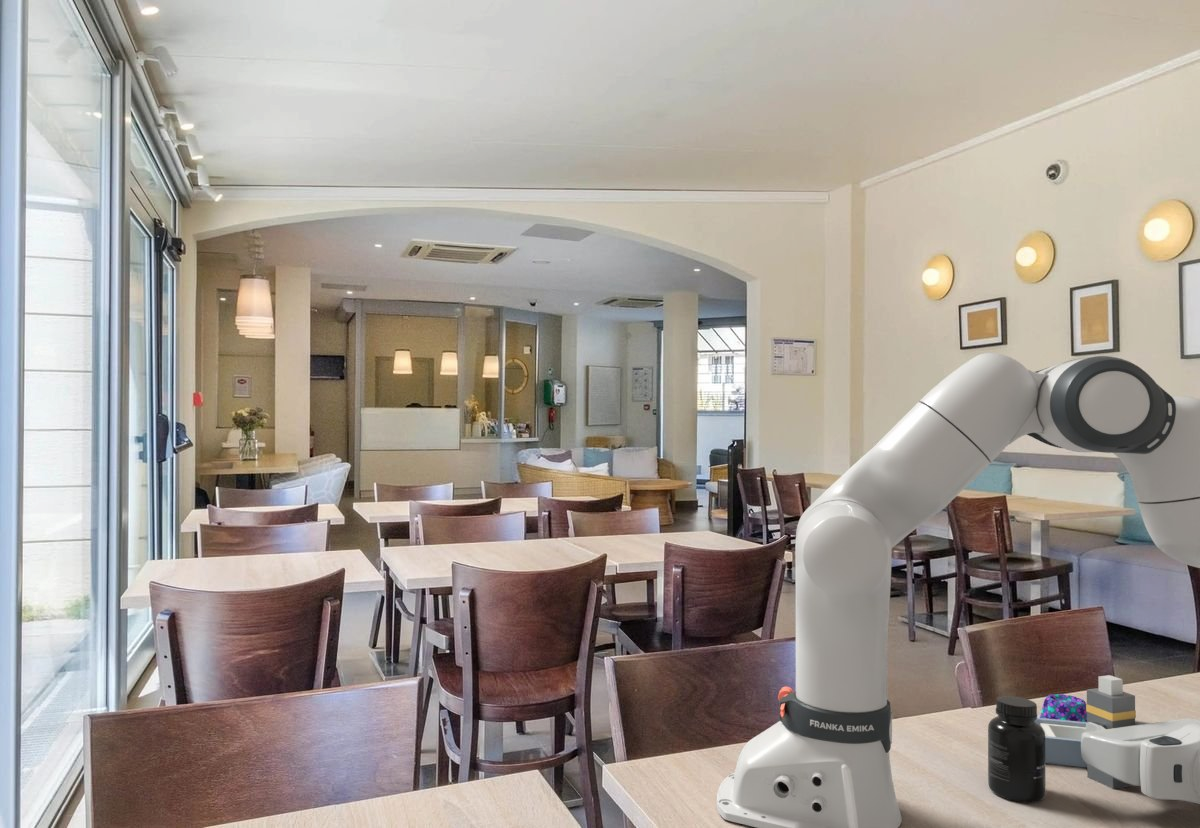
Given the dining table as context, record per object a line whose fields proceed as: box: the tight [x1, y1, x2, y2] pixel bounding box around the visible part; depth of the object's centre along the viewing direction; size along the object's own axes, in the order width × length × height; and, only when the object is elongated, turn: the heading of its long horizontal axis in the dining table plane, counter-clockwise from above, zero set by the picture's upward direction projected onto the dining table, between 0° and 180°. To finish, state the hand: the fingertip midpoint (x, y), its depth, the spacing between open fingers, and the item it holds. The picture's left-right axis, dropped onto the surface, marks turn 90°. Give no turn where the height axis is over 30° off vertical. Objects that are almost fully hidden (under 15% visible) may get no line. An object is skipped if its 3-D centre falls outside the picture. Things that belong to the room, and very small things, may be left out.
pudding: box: [1037, 693, 1087, 722], centre depth 134 cm, size 12×12×5 cm
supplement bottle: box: [987, 695, 1047, 804], centre depth 111 cm, size 7×7×12 cm
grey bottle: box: [1086, 674, 1137, 790], centre depth 114 cm, size 4×4×14 cm
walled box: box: [1035, 718, 1087, 768], centre depth 124 cm, size 14×9×4 cm, turn 73°
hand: (1105, 725), depth 115 cm, fingers closed on grey bottle, 4 cm apart
